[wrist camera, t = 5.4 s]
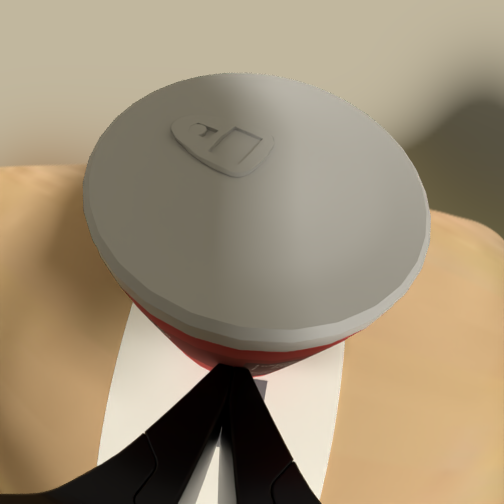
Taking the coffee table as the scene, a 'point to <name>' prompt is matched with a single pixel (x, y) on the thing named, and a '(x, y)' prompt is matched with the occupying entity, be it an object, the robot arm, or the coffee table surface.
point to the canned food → (255, 217)
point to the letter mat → (190, 373)
